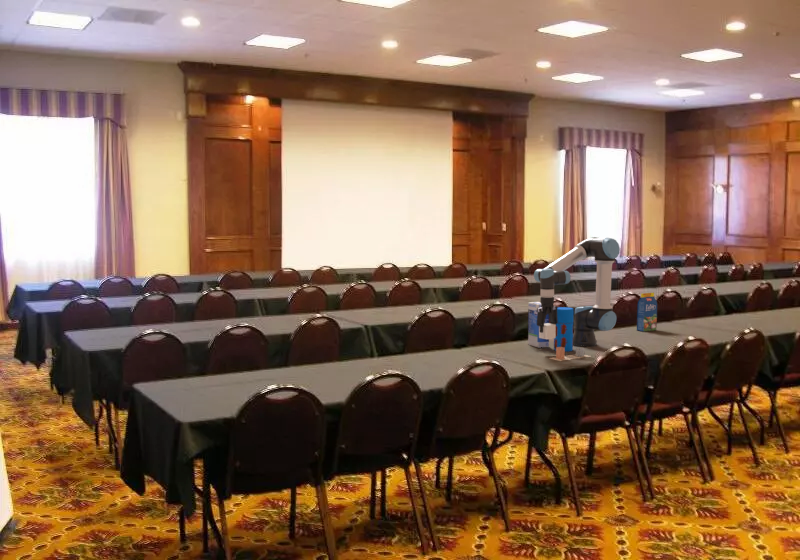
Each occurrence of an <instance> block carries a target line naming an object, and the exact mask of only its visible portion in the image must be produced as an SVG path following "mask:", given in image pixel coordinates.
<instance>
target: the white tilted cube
mask: <svg viewBox="0 0 800 560" xmlns="http://www.w3.org/2000/svg"><path fill="white" fill-rule="evenodd" d="M544 327H545V338H544V339H549V340H552V339H553V340H554V338H556V324H551V322H549V323H544ZM539 338H540V326H539ZM542 339H543V338H542Z"/></svg>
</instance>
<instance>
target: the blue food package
mask: <svg viewBox="0 0 800 560" xmlns="http://www.w3.org/2000/svg"><path fill="white" fill-rule="evenodd" d="M636 306H637V309H636V310H637V311H636V331H639V332H653V331H657V328H658V327H657V325H658V324H657V323H658V322H657V321H658V320H657V319H658V301H657V299H656V297H655V292H644V293H643V292H642V293H640V298H639V300H638V301H637V305H636Z"/></svg>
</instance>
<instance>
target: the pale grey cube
mask: <svg viewBox="0 0 800 560" xmlns="http://www.w3.org/2000/svg"><path fill="white" fill-rule="evenodd" d="M575 354H576V356H579V357H582V356H584V355H585V348H580V347H579V348H576V349H575Z"/></svg>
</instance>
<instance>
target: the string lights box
mask: <svg viewBox="0 0 800 560" xmlns="http://www.w3.org/2000/svg"><path fill="white" fill-rule="evenodd" d="M527 304H528V306H527V311H528V313H527V314H528V316H527V320H528V322H527V323H528V324H527V325H528V328H527V331H528V333H527V339H528V340H527V343H528V345H529V346H531V347H535V348H537V349H538V348H541V347H542V348H550V339H542V338H539V326H537V308H541V303H540V301H531V302H530V301H529V302H527ZM545 323H550V319H549V315H548V313H547V315H546V319H545ZM542 348H541V349H542Z"/></svg>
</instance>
